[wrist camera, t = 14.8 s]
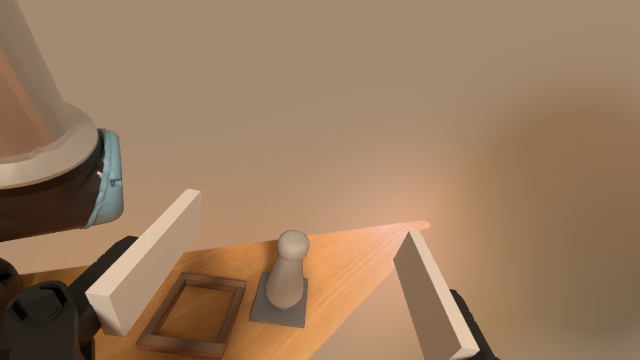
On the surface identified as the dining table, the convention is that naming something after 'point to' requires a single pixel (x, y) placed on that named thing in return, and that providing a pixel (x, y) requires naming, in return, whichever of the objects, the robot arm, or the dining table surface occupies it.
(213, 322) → the dining table surface
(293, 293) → the salt shaker
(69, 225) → the robot arm
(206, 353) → the walnut collar
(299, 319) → the charcoal coaster
